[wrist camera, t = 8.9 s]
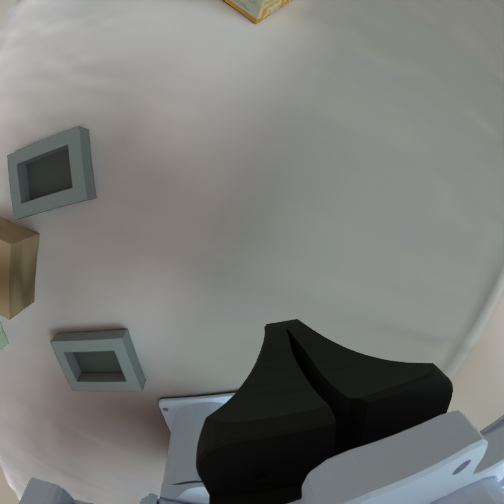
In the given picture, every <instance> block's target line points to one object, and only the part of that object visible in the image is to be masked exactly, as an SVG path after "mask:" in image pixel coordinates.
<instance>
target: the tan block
mask: <svg viewBox="0 0 504 504" xmlns="http://www.w3.org/2000/svg"><path fill="white" fill-rule="evenodd" d="M39 235H40V234H39V233H36V232H34V231H31V230H29V229H26V228H24V227H22V226H19V225H17V224H14V223H12V222H10V221H7V220H5V219H3V218H0V315H2V316H4V317H5V318H7V319H9V320H10V319H12V318H13V317H14V316H15V315H17V314H18V313H19V312H21V311H22V310H23V309H25V308H26V307H27V306H29V305H30V304H31V303H33V302H34V292H35V274H36V262H37V252H38V243H39Z"/></svg>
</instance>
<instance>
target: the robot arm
mask: <svg viewBox="0 0 504 504" xmlns="http://www.w3.org/2000/svg"><path fill="white" fill-rule="evenodd" d="M264 328H265V337H264V341H263V345H262V348H261V351H260V354H259V356H258V359H257V361H256V363H255V365H254V367H253V369H252V371H251V373H250V374H249V376H248V377H247V379H246V380H245V382H244V383H243V384H242V386H241V387H240V388H239V390H238V391H237V392H236V393H228V394H219V395H210V396H199V397H186V398H170V399H161V400H160V401H159V407H160V409H161V412H162V414H163V416H164V419H165V421H166V423H167V425H168V427H169V430H170V432H171V435H170V441H169V448H168V454H167V460H166V467H165V473H164V480H163V484H162V488H161V494H160V499H157V497H158V495H155V494H149V495H148V496H146V497H144V498H142V499H141V502H140V504H504V415H503V416H502V417H501V418H499V419H498V420H496V421H495V422H493V423H492V424H490V425H489V426H487V427H486V428H484V429H483V430H481V431H479V430H478V429H477V428H476V427H475V426H474V425H473V424H472V422H471V421H470V420H469V419H468V418H467V417H466V416H465V415H464V414H463V413H461V412H460V411H458V410H457V411H452V412H449V413H446V412H447V410H448V406H449V404H450V401H451V397H452V392H453V386H452V383H451V381H450V380H449V378H448V377H447V376H446V375H445V374H444V373H443V372H442V371H441V370H440V369H439V368H438V367H437V366H435V365H434V364H433V363H405V362H397V361H390V360H384V359H379V358H375V357H371V356H367V355H364V354H361V353H358V352H355V351H353V350H350V349H347V348H345V347H343V346H341V345H339V344H337V343H335V342H333V341H331V340H329V339H327V338H325V337H324V336H322V335H320V334H319V333H317V332H315V331H314V330H312V329H311V328H309V327H308V326H306V325H305V324H304V323H302V322H301V321H299V320H298V319H295V320H289V321H283V322H277V323H271V324H267V325H266V326H265V327H264ZM164 407H166V408H168V409H166V408H164ZM19 504H92V503H87V502H83V501H78V500H74V499H73V498H72V497H71V495H70V494H69V493H68V492H67V491H66V490H64V489H63V488H62V487H60V486H58V485H56V484H53V483H49V482H46V481H43V480H39V479H36V478H31V479H30V481H29V483H28V485H27V487H26V489H25V492H24V494H23V496H22V498H21V500H20V503H19Z"/></svg>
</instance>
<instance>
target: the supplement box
mask: <svg viewBox="0 0 504 504" xmlns="http://www.w3.org/2000/svg"><path fill="white" fill-rule="evenodd" d="M224 1H225V2H226V3H228V4H229V5H231V6H232V7H234V8H235V9H236V10H238V11H239V12H241V13H242V14H243V15H245V16H246V17H247V18H249V19H250V20H251V21H253V22H254V23H258V22H260V21H262V20H263V19H264V18H266V17H267V16H269V15H270V14H272V13H273V12H275V11H276V10H278V9H279V8H281V7H282V6H284V5H285V4H287V3H288V2H290V1H291V0H224Z"/></svg>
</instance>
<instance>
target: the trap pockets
mask: <svg viewBox="0 0 504 504" xmlns="http://www.w3.org/2000/svg"><path fill="white" fill-rule="evenodd" d="M7 158H8V171H9V182H10V190H11V198H12V205H13V212H14V218H15V220H16V219H20V218H24V217H27V216H30V215H34V214H37V213H41V212H44V211H48V210H51V209H55V208H58V207H62V206H66V205H69V204H73V203H77V202H81V201H85V200H89V199H93V198H96V192H95V185H94V178H93V170H92V162H91V152H90V142H89V129H86V128H83V127H76V128H73V129H70V130H68V131H65V132H62V133H59V134H57V135H54V136H51V137H49V138H46V139H44V140H41V141H39V142H36V143H34V144H32V145H29V146H27V147H25V148H22V149H20V150H18V151H16V152H14V153H11V154H9V155H7ZM50 343H51V345H52V348H53V350H54V352H55V355H56V357H57V359H58V361H59V364H60V366H61V368H62V370H63V372H64V374H65V376H66V378H67V380H68V382H69V384H70V386H71V388H72V390H78V391H142V390H143V387H144V384H145V381H146V379H145V377H144V374H143V372H142V369H141V366H140V364H139V361H138V358H137V355H136V352H135V350H134V347H133V344H132V341H131V338H130V335H129V332H128V329H119V330H106V331H92V332H75V333H58V334H57V335H56V336H55V337H54V338H53V339H52V340H51V341H50ZM8 344H9V343H8V341H7V339H6V336H5V334H4V331H3V329H2V326H1V323H0V351H1V350H2V349H4V348H5V347H6V346H7V345H8Z"/></svg>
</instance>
